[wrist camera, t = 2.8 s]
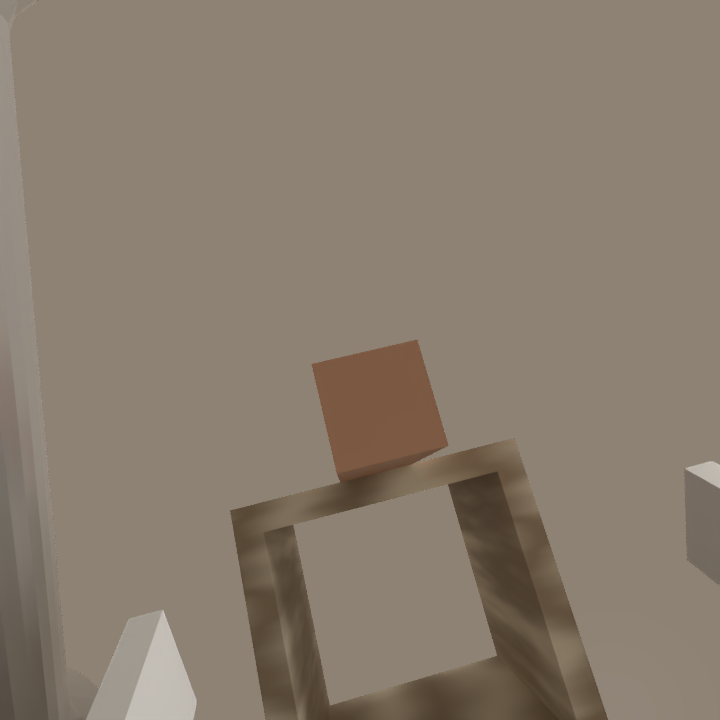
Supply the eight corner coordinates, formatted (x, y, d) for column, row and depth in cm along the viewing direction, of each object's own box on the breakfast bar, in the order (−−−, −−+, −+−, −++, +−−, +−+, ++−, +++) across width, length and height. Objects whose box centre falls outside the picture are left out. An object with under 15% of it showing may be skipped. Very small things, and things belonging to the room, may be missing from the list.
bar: (336, 473, 17) (311, 364, 18) (342, 487, 40) (331, 439, 41) (448, 445, 17) (417, 339, 18) (389, 475, 40) (377, 428, 41)
